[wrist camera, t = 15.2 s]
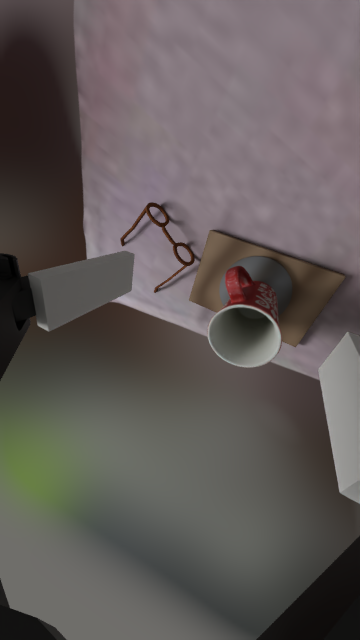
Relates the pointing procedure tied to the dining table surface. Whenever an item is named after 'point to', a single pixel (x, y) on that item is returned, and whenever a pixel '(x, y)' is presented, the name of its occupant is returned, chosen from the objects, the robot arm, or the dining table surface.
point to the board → (266, 281)
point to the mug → (246, 322)
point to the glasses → (166, 236)
